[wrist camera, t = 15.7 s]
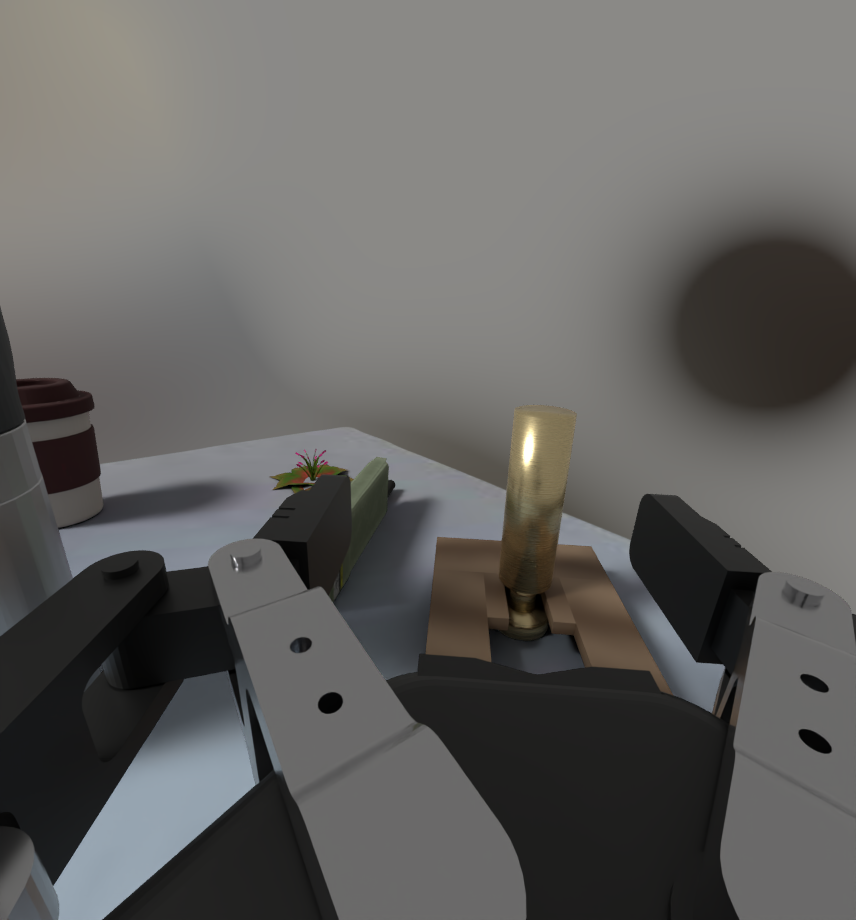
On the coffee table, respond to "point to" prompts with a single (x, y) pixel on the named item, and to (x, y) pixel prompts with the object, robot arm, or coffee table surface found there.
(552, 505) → the brass peg
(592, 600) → the keyhole plate
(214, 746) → the coffee table surface
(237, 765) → the coffee table surface
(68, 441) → the coffee cup
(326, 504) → the robot arm
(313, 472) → the lily flower
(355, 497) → the handheld radio
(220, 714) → the coffee table surface
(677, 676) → the coffee table surface
